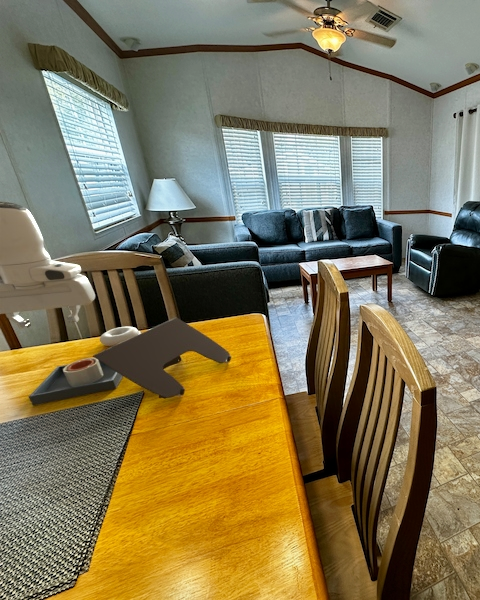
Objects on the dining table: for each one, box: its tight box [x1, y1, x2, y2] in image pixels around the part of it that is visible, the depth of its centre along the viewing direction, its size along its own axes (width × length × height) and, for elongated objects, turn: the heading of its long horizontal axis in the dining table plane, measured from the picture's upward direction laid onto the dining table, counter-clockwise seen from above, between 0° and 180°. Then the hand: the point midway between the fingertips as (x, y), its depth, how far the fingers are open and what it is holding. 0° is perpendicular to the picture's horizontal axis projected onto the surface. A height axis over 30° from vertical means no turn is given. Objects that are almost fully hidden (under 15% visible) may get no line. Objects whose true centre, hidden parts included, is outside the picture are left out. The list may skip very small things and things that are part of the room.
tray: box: [28, 360, 124, 406], centre depth 87 cm, size 16×14×3 cm
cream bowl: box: [63, 357, 104, 387], centre depth 86 cm, size 7×7×4 cm
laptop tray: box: [92, 317, 232, 399], centre depth 90 cm, size 23×23×9 cm
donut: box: [99, 326, 140, 347], centre depth 108 cm, size 10×4×10 cm
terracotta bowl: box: [68, 360, 95, 372], centre depth 86 cm, size 5×5×4 cm
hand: (50, 324), depth 83 cm, fingers open, 8 cm apart
